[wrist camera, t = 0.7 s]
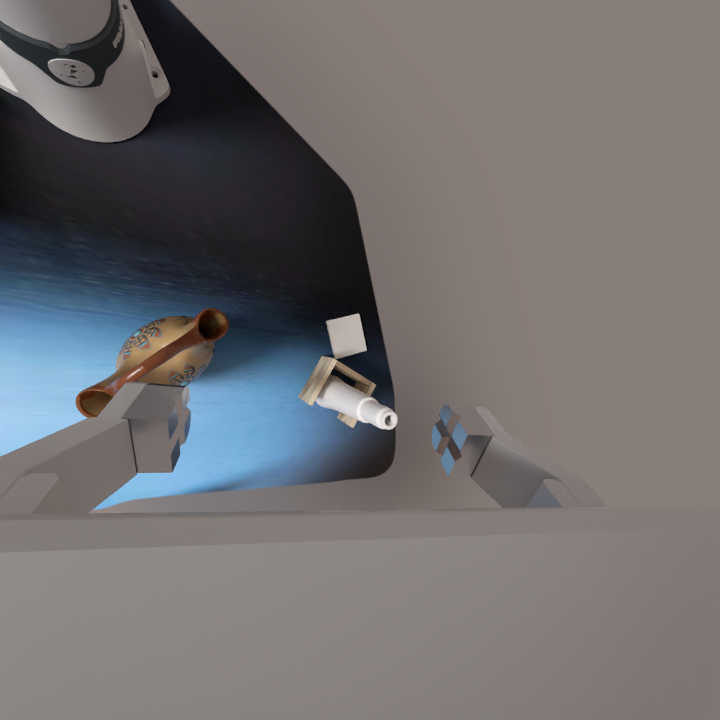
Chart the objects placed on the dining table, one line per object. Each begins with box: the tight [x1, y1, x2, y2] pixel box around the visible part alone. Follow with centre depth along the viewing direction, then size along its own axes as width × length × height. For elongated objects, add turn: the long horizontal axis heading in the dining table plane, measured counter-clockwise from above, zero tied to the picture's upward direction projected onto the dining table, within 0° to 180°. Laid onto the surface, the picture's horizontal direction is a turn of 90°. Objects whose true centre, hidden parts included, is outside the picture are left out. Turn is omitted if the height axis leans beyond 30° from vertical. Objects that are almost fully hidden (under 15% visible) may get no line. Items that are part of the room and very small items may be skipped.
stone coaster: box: [326, 314, 367, 359], centre depth 60 cm, size 7×6×1 cm
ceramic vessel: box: [76, 308, 229, 418], centre depth 37 cm, size 16×9×25 cm, turn 126°
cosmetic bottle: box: [315, 375, 397, 430], centre depth 49 cm, size 6×6×22 cm
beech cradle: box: [299, 356, 376, 428], centre depth 57 cm, size 8×9×6 cm
